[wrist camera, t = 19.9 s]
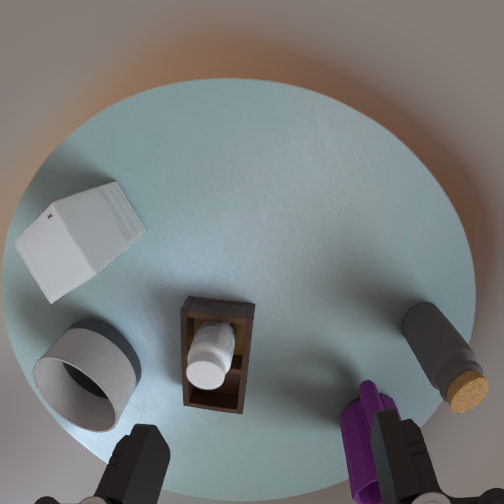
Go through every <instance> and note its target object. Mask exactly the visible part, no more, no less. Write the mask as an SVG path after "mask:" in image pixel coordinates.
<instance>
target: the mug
mask: <svg viewBox="0 0 504 504" xmlns="http://www.w3.org/2000/svg"><path fill="white" fill-rule="evenodd" d="M359 394H360V400H357V401H354V402H352V403H351V404H350V405H349V406H348V407H347V408H346V409H345V410H344V411H343V412H342V417H341V422H340V426H341V432H342V438H343V444H344V450H345V456H346V462H347V468H348V474H349V480H350V487H351V494H352V499H353V500H354V501H356V502H357V503H358V504H382V499H381V493H380V487H379V482H378V477H377V471H376V466H375V461H374V456H373V451H372V445H371V433H372V426H373V417H374V412H376V411H381V410H386V409H391V408H396V410H397V413H398V416H399V419H400V421H402V420H401V417H400V414H399V412H398V409H397V407H396V405H395V403H394V401H393V399H392V398H389V397H387V396H384V395H381V394H380V395H379V394H378V391H377V388H376V386H375V384H374V382H372V381H370V380H367V381H364V382H362V383H361V384H360V386H359Z"/></svg>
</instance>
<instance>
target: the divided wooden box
mask: <svg viewBox="0 0 504 504" xmlns="http://www.w3.org/2000/svg"><path fill="white" fill-rule="evenodd" d="M254 311H255V304H248V303H239V302H231V301H223V300H215V299H207V298H199V297H192V296H188V297H187V299H186V301H185V303H184V305H183V307H182V308H181V310H180V312H181V359H182V384H183V404H184V406H190V407H195V408H202V409H208V410H215V411H221V412H229V413H237V414H243V407H244V399H245V390H246V382H247V373H248V364H249V355H250V347H251V338H252V329H253V320H254ZM203 320H213V321H220V322H228V323H231V324H232V325H233V326H234V328H235V330H236V341H235V346H234V351H233V357H232V362H231V366H230V369H229V371H228V372H227V373H226V374H225V378H224V381H223V383H222V384H221V385H220V386H219V387H217V388H215V389H201V388H199V387H196V386H195V385H193V384H192V383H191V382H190V381H189V380H188V378H187V375H186V369H187V365H188V360H187V357H188V353H189V350H190V347H191V345H192V342H193V340H194V337H195V334H196V332H197V329H198V327H199V325H200V323H201V322H202V321H203Z"/></svg>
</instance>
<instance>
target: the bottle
mask: <svg viewBox="0 0 504 504" xmlns="http://www.w3.org/2000/svg"><path fill="white" fill-rule="evenodd" d="M402 332H403V334H404V336H405V338H406V340H407V342H408V344H409V345H410V347H411V349H412V351H413V352H414V354H415V356H416V358H417V360H418V361H419V363H420V365H421V367H422V368H423V370H424V372H425V374H426V376H427V378H428V379H429V381H430V383H431V385H432V386H433V387H434V388H436V389H438V390H439V391H440V394H441V396H442V398H443V400H444V401H446V402H448V403H449V406H450V409H451V411H453V412H455V413H462V412H465V411H468V410H470V409H472V408H473V407H474V406H476V405H477V404H478V403H479V402H480V401H481V400H482V399H483V398H484V397H485V395H486V393H487V391H488V389H489V381H488V380H487V378H485V377H484V376H483V370H482V368H481V366H480V365H479V364H478V363H477V362H475V354H474V352H473V351H472V349H471V348H470V346H469V345H468V344H467V343H466V341H465V340H464V339H463V337H462V336H461V335H460V334H459V332H458V331H457V330H456V329H455V328H454V326H453V325H452V324H451V323H450V322H449V320H448V319H447V318H446V317H445V316H444V315H443V313H442V312H441V311H440V310H439V309H438V308H437V307H436V306H435V305H433V304H430V303H423V304H420V305H417V306H415V307H414V308H413V309H411V310H410V311H409V312H408V313H407V315H406V316H405V318H404V320H403V324H402Z"/></svg>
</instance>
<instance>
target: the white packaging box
mask: <svg viewBox="0 0 504 504" xmlns="http://www.w3.org/2000/svg"><path fill="white" fill-rule="evenodd" d="M146 232H147V230H146V229H145V227H144V226H143V224H142V222H141V221H140V219H139V217H138V216H137V214H136V212H135V211H134V209H133V207H132V206H131V204H130V202H129V201H128V199H127V197H126V196H125V194H124V192H123V191H122V189H121V187H120V186H119V184H118V182H117V181H114V182H110V183H107V184H104V185H101V186H98V187H95V188H91V189H88V190H85V191H82V192H79V193H76V194H73V195H70V196H67V197H64V198H61V199H59V200H56V201H53V202H52V203H51V204H50V205H49V206H48V207H47V208H46V209H45V210H44V211H43V212H42V213H41V214H40V215H39V216H38V217H37V218H36V219H35V220H34V221H33V222H32V223H31V224H30V225H29V226H28V227H27V228H26V230H25V231H24V232H23V233H22V234H21V235H20V236H19V237H18V238H17V239H16V240H15V241H14V245H15V247H16V249H17V250H18V252H19V254H20V256H21V257H22V259H23V261H24V262H25V264H26V266H27V267H28V269H29V271H30V272H31V274H32V276H33V277H34V279H35V281H36V282H37V284H38V285H39V287H40V288H41V290H42V292H43V293H44V295H45V296H46V298H47V299H48V301H49V302H50V304H52V303H53V302H55V301H56V300H58V299H59V298H61V297H63V296H64V295H66V294H67V293H69V292H70V291H72V290H74V289H75V288H77V287H78V286H80V285H82V284H83V283H85V282H86V281H88V280H90V279H91V278H93V277H94V276H96V275H97V274H98V273H99V272H100V271H101V270H102V269H103V268H104V267H105V266H107V265H108V264H109V263H110V262H111V261H113V260H114V259H115V258H116V257H117V256H119V255H120V254H121V253H122V252H124V251H125V250H126V249H127V248H128V247H130V246H131V245H132V244H133V243H135V242H136V241H137V240H138V239H139V238H140V237H142V236H143V235H144V234H145V233H146Z"/></svg>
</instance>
